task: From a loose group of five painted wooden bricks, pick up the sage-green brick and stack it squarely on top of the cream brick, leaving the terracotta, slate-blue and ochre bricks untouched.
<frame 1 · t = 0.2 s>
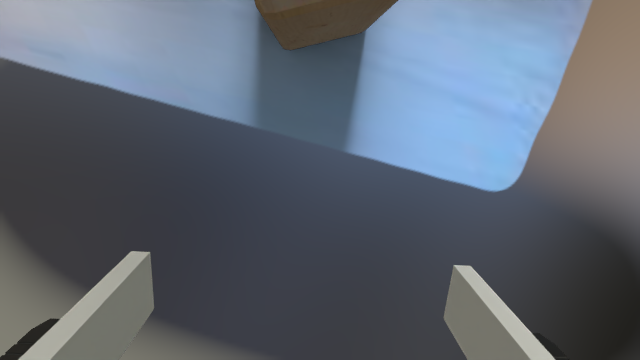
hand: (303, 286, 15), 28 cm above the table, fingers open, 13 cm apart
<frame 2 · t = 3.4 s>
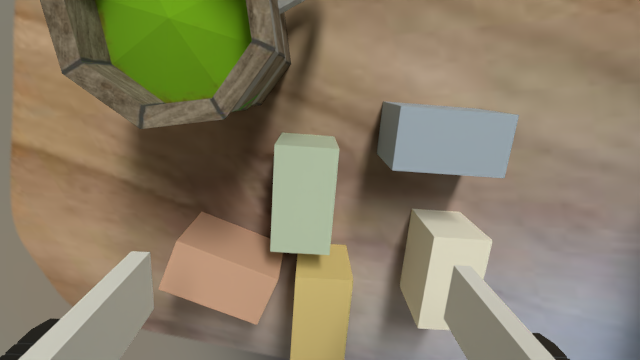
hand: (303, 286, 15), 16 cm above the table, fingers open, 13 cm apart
terracotta brick: (235, 247, 32), on the table
slate brick: (426, 131, 29), on the table
ochre brick: (319, 281, 33), on the table
mug: (251, 27, 27), on the table
sage brick: (305, 179, 30), on the table
cream brick: (428, 249, 32), on the table
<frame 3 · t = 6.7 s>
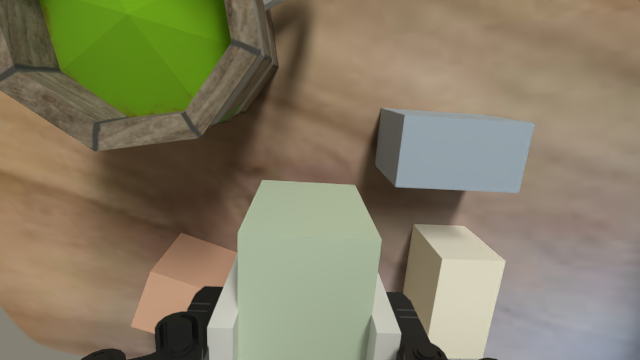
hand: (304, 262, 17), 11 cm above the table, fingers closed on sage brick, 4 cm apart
terracotta brick: (220, 271, 28), on the table
slate brick: (428, 140, 27), on the table
mug: (232, 26, 24), on the table
sage brick: (304, 258, 17), point 10 cm above the table, touching gripper
cream brick: (431, 267, 30), on the table
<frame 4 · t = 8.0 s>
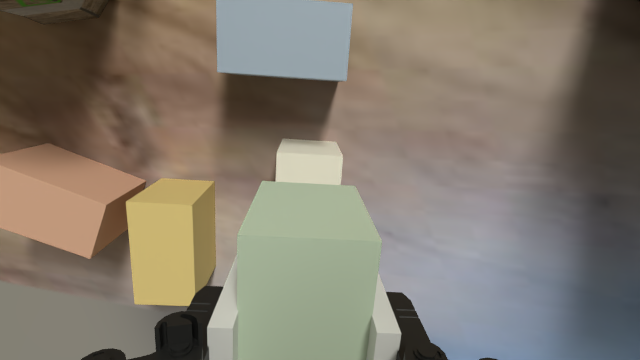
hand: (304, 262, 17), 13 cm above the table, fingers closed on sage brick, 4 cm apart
terracotta brick: (92, 185, 29), on the table
slate brick: (288, 48, 26), on the table
ochre brick: (190, 223, 30), on the table
sage brick: (304, 259, 17), point 13 cm above the table, touching gripper
cream brick: (306, 186, 29), on the table
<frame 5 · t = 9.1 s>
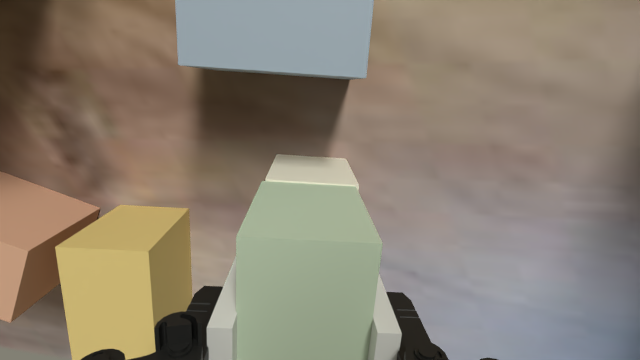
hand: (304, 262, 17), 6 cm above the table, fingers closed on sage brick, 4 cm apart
terracotta brick: (30, 214, 22), on the table
slate brick: (284, 35, 20), on the table
ochre brick: (158, 261, 23), on the table
sage brick: (304, 260, 17), point 6 cm above the table, touching cream brick, gripper
cream brick: (307, 214, 23), on the table, touching gripper, sage brick
when the fingers open (6 cm above the table, at t = 9.5 s): sage brick stays where it is, resting on cream brick.
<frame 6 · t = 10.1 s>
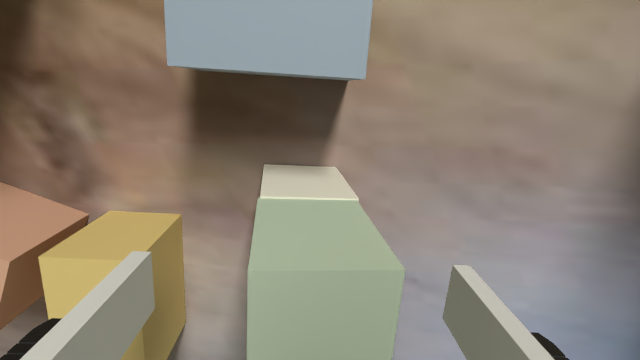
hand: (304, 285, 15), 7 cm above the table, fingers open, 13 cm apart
terracotta brick: (16, 220, 21), on the table
slate brick: (280, 34, 19), on the table
ochre brick: (150, 268, 23), on the table
sage brick: (303, 278, 16), point 6 cm above the table, tilted 5°, touching cream brick
cream brick: (296, 226, 22), on the table, tilted 5°, touching sage brick
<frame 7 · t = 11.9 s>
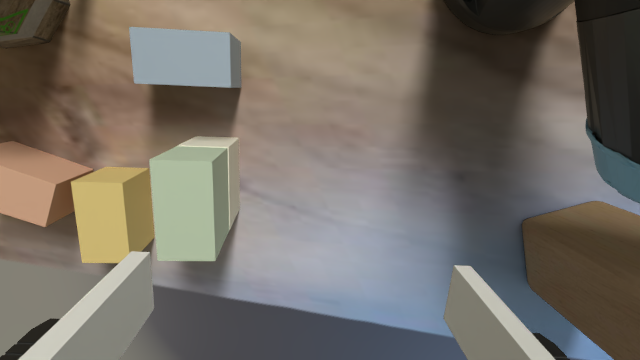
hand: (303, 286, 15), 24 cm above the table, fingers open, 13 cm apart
wooden block: (558, 242, 43), on the table
terracotta brick: (49, 174, 36), on the table
slate brick: (200, 63, 34), on the table
ochre brick: (131, 203, 37), on the table
sage brick: (204, 189, 31), point 6 cm above the table, touching cream brick
cream brick: (218, 173, 37), on the table, touching sage brick
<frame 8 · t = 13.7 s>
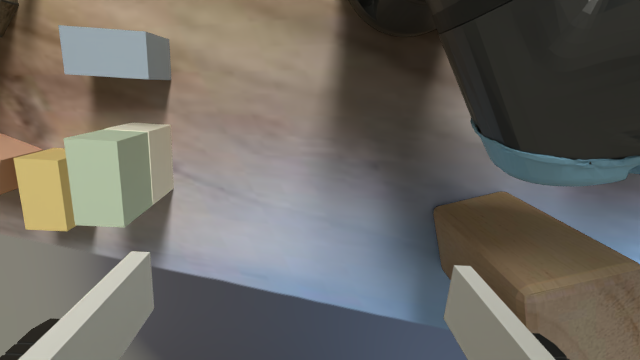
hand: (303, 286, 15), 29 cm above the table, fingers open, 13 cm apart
wooden block: (470, 229, 46), on the table
terracotta brick: (5, 152, 41), on the table
slate brick: (134, 57, 39), on the table
ochre brick: (77, 180, 42), on the table
sage brick: (129, 168, 36), point 6 cm above the table, touching cream brick
cream brick: (154, 156, 42), on the table, touching sage brick
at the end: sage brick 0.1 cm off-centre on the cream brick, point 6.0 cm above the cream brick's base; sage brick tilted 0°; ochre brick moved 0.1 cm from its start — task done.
